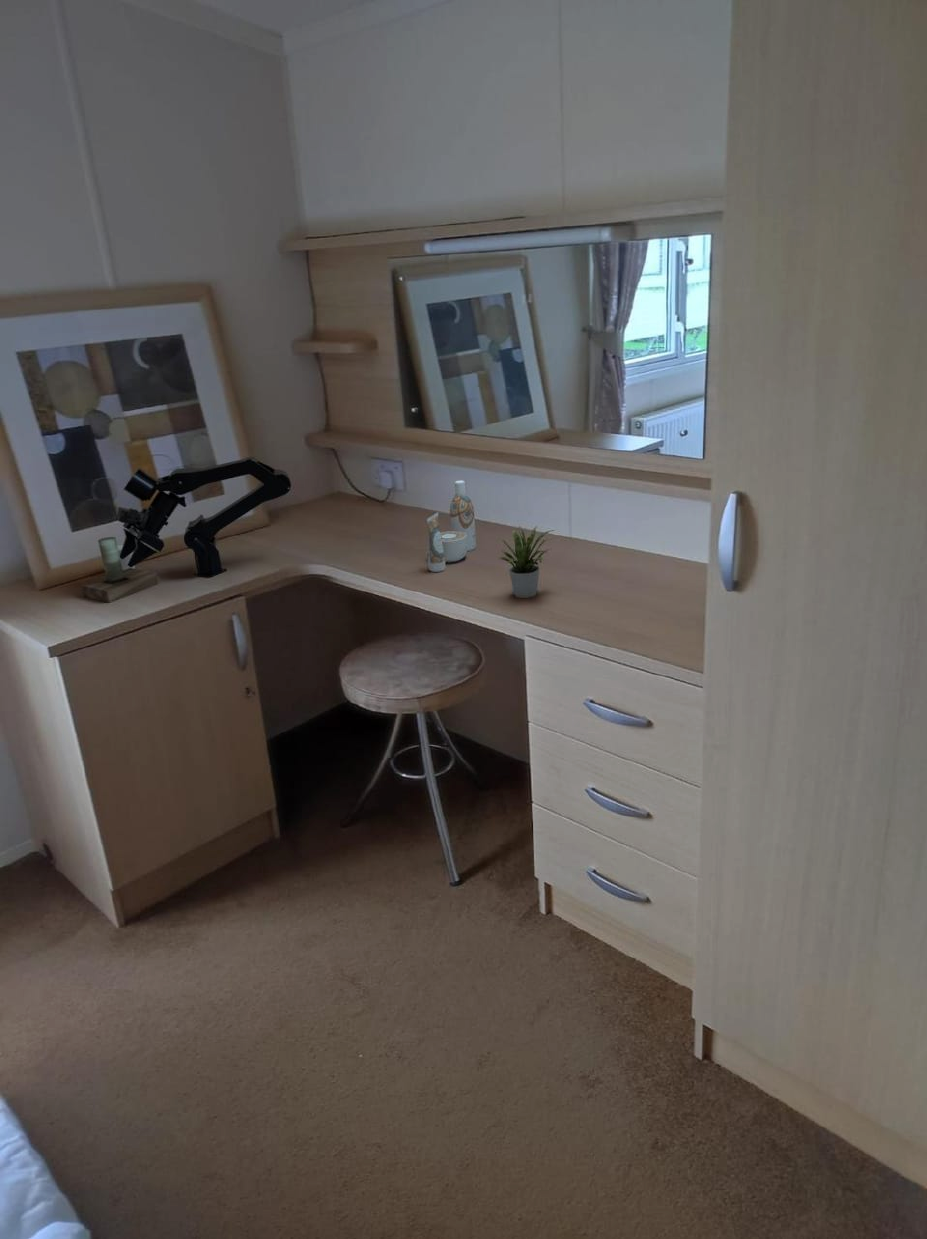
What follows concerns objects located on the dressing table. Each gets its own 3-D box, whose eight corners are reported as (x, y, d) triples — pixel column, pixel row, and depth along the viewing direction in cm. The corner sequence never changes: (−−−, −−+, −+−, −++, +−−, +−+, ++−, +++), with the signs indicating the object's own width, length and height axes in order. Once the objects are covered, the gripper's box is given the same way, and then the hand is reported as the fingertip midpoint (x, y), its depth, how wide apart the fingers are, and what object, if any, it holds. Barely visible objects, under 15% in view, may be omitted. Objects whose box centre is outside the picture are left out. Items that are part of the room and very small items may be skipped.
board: (158, 583, 233) (156, 573, 232) (109, 602, 222) (107, 591, 221) (132, 578, 239) (130, 567, 238) (83, 596, 228) (80, 585, 227)
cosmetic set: (448, 575, 224) (442, 503, 217) (415, 573, 227) (408, 501, 220) (484, 546, 245) (480, 479, 238) (453, 544, 248) (448, 478, 241)
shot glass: (110, 577, 242) (104, 552, 239) (112, 569, 248) (107, 545, 245) (136, 573, 243) (131, 549, 241) (138, 566, 249) (133, 542, 247)
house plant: (573, 592, 206) (572, 524, 200) (534, 609, 198) (531, 539, 191) (528, 580, 216) (525, 515, 210) (488, 596, 207) (484, 529, 201)
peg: (131, 589, 230) (119, 538, 225) (116, 595, 227) (104, 542, 222) (120, 587, 233) (108, 536, 228) (106, 592, 229) (94, 541, 224)
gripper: (123, 489, 232) (89, 538, 231) (140, 501, 217) (104, 554, 216) (159, 511, 239) (127, 560, 238) (179, 525, 224) (144, 576, 223)
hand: (125, 562), depth 229 cm, fingers open, 9 cm apart
